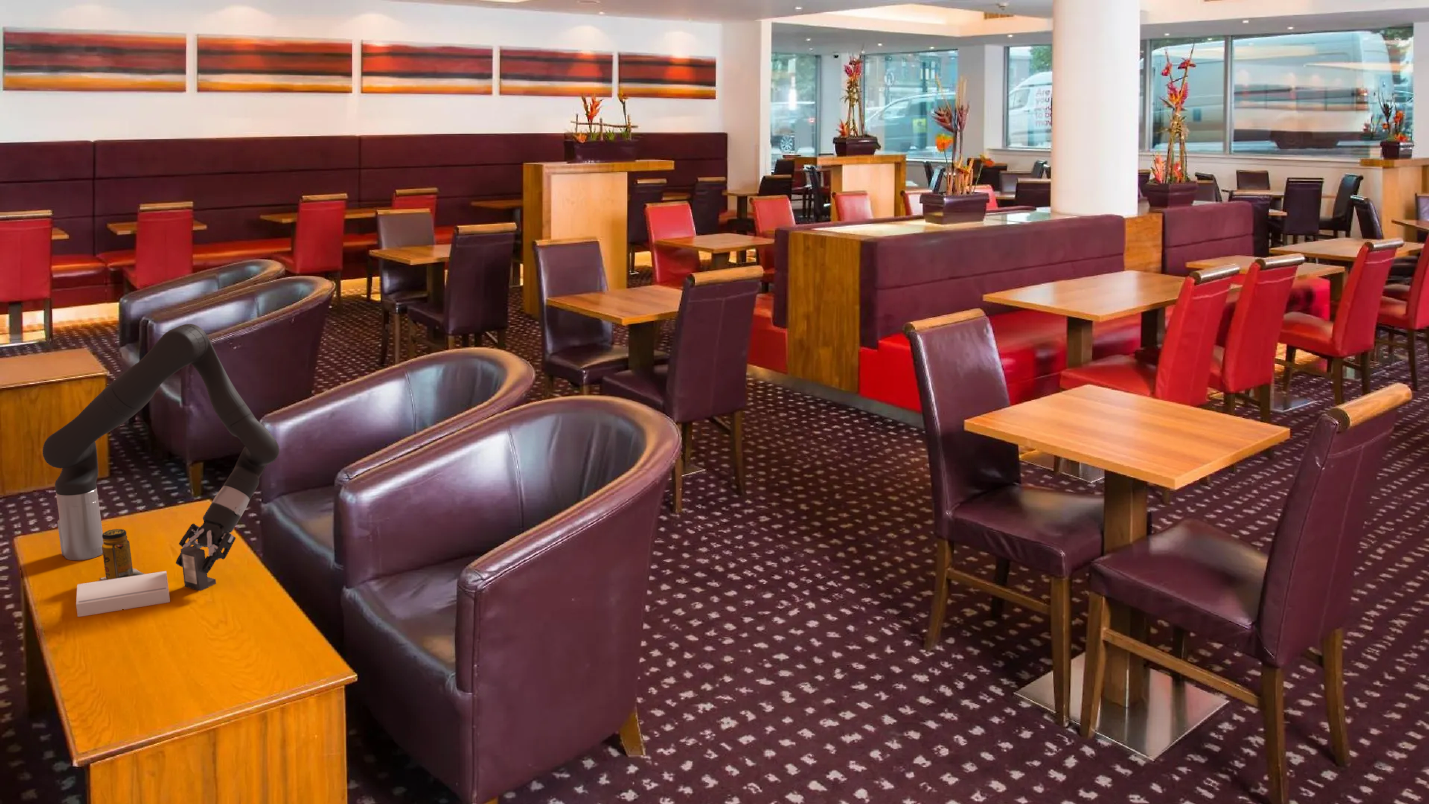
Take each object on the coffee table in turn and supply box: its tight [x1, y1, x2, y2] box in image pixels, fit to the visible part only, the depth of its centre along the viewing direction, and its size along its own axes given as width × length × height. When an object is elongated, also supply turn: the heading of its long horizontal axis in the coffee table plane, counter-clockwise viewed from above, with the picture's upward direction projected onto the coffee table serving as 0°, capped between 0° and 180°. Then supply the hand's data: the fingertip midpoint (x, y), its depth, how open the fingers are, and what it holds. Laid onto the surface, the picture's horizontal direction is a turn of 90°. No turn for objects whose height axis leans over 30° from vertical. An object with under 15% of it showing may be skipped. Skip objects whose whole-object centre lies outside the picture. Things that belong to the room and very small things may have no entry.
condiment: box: [99, 528, 145, 581], centre depth 293 cm, size 7×8×12 cm
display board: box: [75, 570, 171, 618], centre depth 281 cm, size 19×13×3 cm
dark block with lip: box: [180, 545, 217, 592], centre depth 288 cm, size 6×5×10 cm
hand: (191, 568), depth 286 cm, fingers open, 8 cm apart
